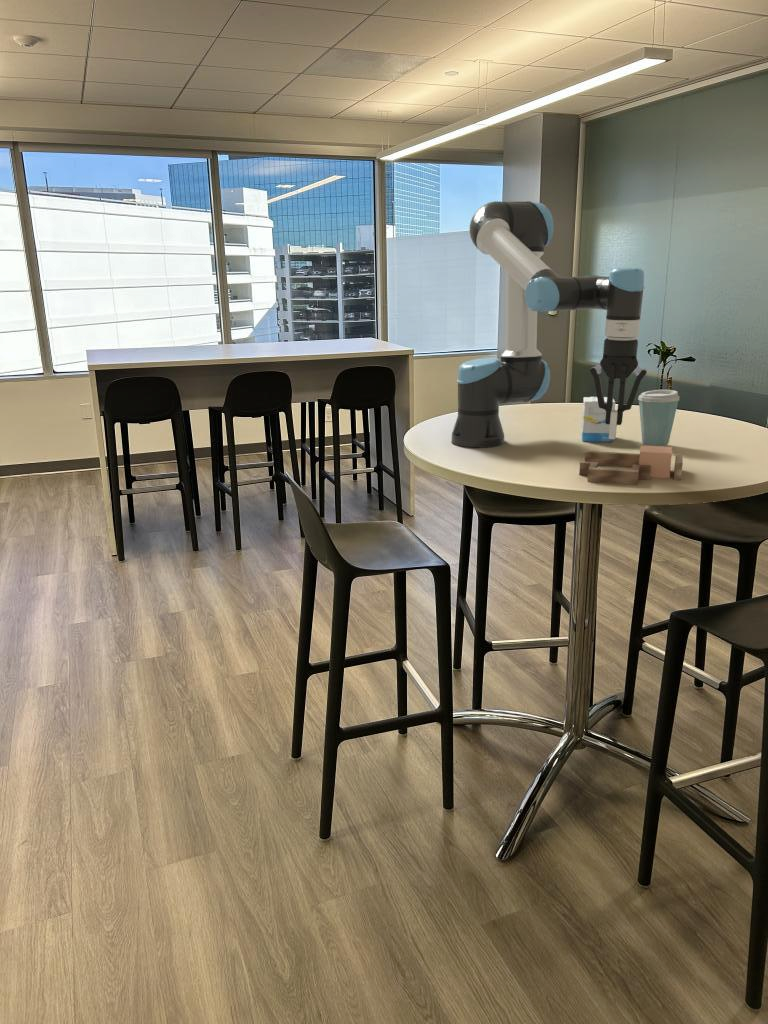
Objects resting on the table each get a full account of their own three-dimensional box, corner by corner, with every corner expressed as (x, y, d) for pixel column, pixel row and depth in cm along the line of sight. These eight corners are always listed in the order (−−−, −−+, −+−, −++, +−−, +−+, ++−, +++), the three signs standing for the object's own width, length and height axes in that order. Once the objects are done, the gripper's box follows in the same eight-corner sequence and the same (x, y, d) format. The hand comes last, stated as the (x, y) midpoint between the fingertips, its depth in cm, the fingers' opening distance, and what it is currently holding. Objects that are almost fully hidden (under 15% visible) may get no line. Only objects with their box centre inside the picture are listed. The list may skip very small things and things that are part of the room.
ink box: (612, 442, 212) (615, 401, 209) (582, 441, 214) (584, 401, 210) (610, 436, 220) (613, 396, 217) (580, 435, 222) (582, 396, 218)
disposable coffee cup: (649, 451, 201) (654, 395, 196) (626, 443, 211) (630, 389, 206) (683, 447, 204) (688, 392, 199) (658, 440, 213) (663, 387, 209)
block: (637, 476, 177) (639, 451, 175) (639, 469, 183) (641, 445, 182) (669, 478, 175) (671, 453, 173) (669, 471, 181) (672, 447, 179)
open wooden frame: (576, 480, 174) (577, 464, 173) (585, 462, 191) (586, 446, 190) (681, 488, 167) (682, 470, 165) (680, 468, 183) (682, 452, 182)
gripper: (590, 339, 172) (582, 439, 180) (650, 340, 168) (639, 443, 175) (593, 335, 179) (586, 432, 186) (651, 337, 174) (641, 436, 182)
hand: (612, 437), depth 181 cm, fingers closed
